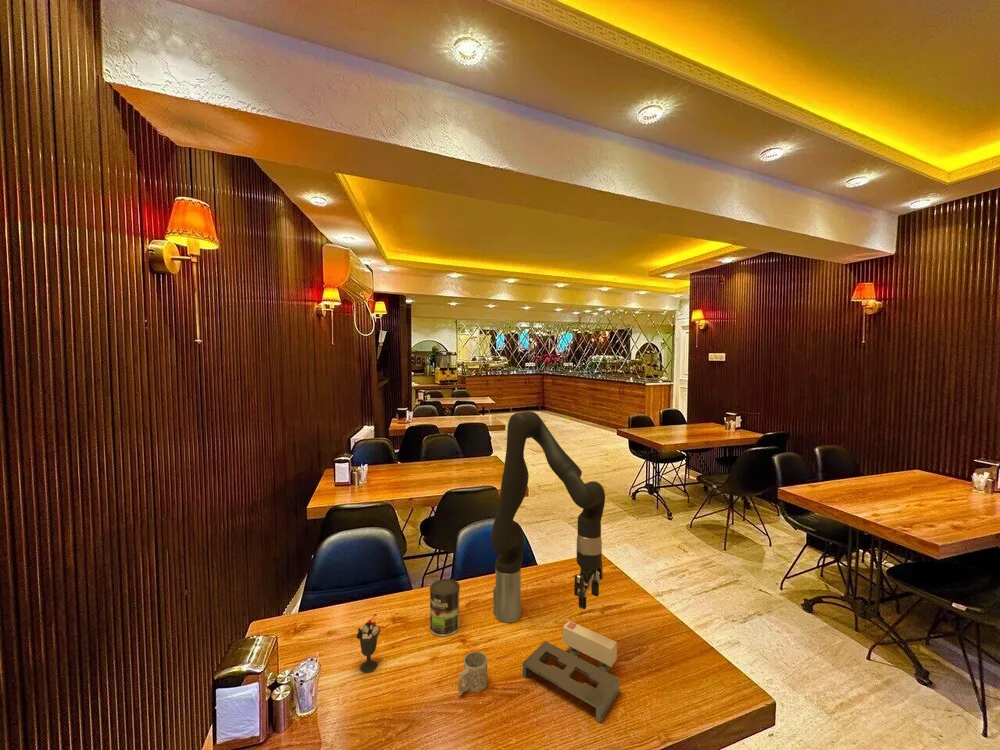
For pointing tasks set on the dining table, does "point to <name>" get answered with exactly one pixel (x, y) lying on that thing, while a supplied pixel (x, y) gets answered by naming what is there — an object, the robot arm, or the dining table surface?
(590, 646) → the cream rectangular block
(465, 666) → the mug
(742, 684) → the dining table surface
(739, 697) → the dining table surface
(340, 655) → the dining table surface
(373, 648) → the sundae
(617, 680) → the slotted board
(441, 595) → the coffee can
